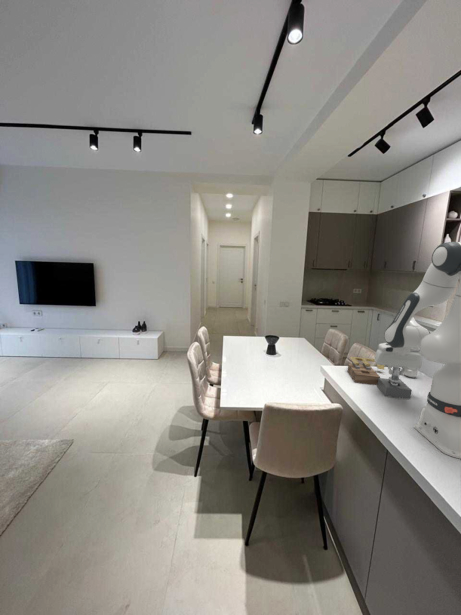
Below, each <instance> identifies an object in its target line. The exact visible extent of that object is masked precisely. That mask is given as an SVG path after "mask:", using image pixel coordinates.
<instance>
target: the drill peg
mask: <svg viewBox="0 0 461 615" xmlns="http://www.w3.org/2000/svg"><path fill="white" fill-rule="evenodd" d="M401 368H402V367H396V366H392V370H393V371H394V372H393V374H391V376H389V377H388V379H389V381H390V382H391V383H390V384H391V385H396V386H398V384H400V383H401V381H402V379H401V378H400V376H401V375H400V371H401V370H402V369H401Z"/></svg>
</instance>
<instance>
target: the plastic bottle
mask: <svg viewBox="0 0 461 615" xmlns="http://www.w3.org/2000/svg"><path fill="white" fill-rule="evenodd" d="M411 349H418V350H420V348H415V347H414V348H411ZM404 375H405V376H406V377H408V378H416V377H418V369H416V368H407V370H406V371H405V372H404V373H403V376H404Z"/></svg>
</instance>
